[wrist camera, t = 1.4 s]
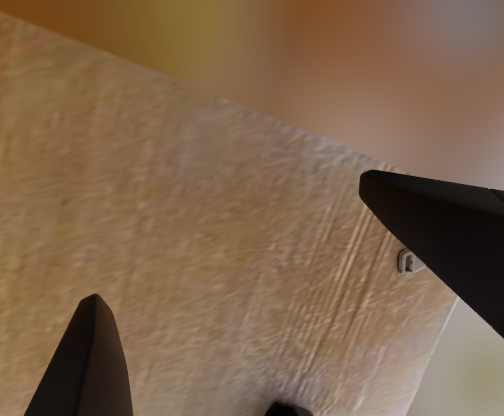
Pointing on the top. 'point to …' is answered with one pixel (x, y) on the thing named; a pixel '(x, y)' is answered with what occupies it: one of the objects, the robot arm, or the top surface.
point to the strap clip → (409, 262)
